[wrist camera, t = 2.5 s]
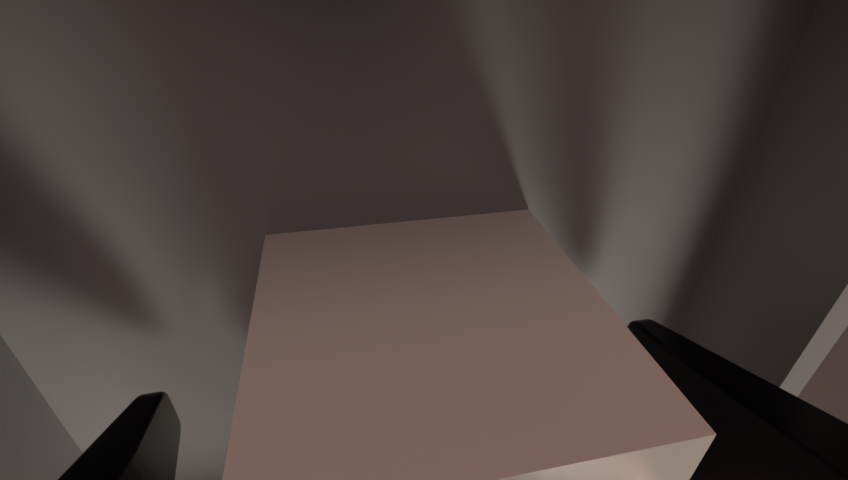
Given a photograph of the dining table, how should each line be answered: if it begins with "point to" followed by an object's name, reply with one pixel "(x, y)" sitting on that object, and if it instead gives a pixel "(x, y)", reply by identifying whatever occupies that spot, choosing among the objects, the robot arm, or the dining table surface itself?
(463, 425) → the smooth beige block
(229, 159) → the bin
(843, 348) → the bin
